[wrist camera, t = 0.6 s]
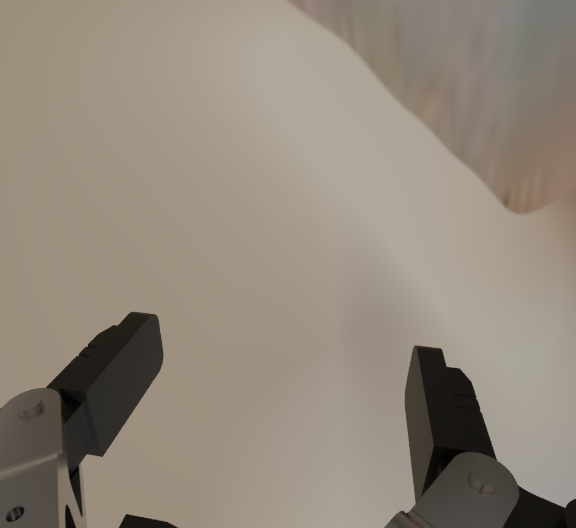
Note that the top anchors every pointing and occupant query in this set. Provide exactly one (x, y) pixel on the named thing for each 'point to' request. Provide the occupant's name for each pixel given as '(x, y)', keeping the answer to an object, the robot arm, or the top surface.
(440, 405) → the robot arm
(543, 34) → the top surface
